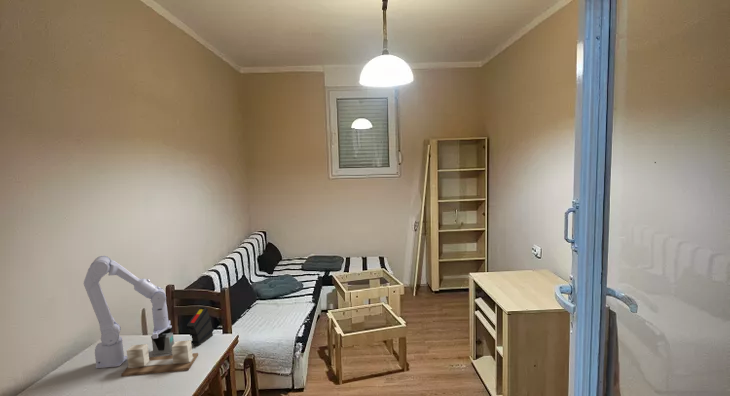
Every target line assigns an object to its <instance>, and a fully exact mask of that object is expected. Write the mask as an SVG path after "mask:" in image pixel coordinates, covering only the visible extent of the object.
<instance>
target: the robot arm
mask: <svg viewBox="0 0 730 396" xmlns="http://www.w3.org/2000/svg"><path fill="white" fill-rule="evenodd" d="M105 275H106V276H107V275H108V276H118V277H119V278H121V279H123V280H124V281H126V282H128V283H129V284H131V285H133V289H134V291H136V292H137V293H138V294H140V295H141V296H143V297H145V298H146V299H149V300H150V303H151V305H152V307H151V310H152V311H151V312H152V321H153V330H152V334H151V336H150V338H151V341H152V340H153V341H154V342H155V344H156V346H157V348H158V351H162V350H164V343H165V337H166V334H164V335H162V334H163V333H172V330H173V326H172V325H171V319H170V320H169V313H168V306H167V305H168V304H167V296H166V295H167V294H166V291H165V290H164V289H163V288H162V287H160V286H159V285H156V284H154V283H152V282H151V279H149V278H147V279H146V278H145V277H143V278H139V277H138V276H136V275H135V273H134V274H133V273H132V271H130V270H128V269H127V268H126V267H124V266H123V265H121V264H120V263H119V262H117V261H116V260H114V259H111V258H110V257H108V256H106V255H100V256H98V257H96V258H95V259H94V260H93V261H92V263H91V264H90V265H89V268H88V269H87V272H86V275H85V277H84V280H83V286H84V289H85V291H86V293H87V296H88V298H89V299H88V300H89V302H90V304H91V306H92V309H93V310H94V311H93V312H94V313H95V316H96V320H97V322H98V325H99V332H100V334H101V336H100V342H99V343H97V344H96V345H95V349H94V359H95V369H104V368H113V367H120V366H121V365H122V364H123V363H125V361H126V360H128V358H127V355H125V354H124V353H125V352H124V343H123V337H122V336H120V332H121V325H120V324H119V323H117V321H116V320H115V318H114V316H113V315H112V312H111V310H110V308H109V304H108V302H107V299H106V297H105V295H104V292H103V290H102V287H101V285H100V281H101V279H102V278H103V277H104V276H105Z"/></svg>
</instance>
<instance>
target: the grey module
mask: <svg viewBox="0 0 730 396" xmlns="http://www.w3.org/2000/svg"><path fill="white" fill-rule="evenodd" d="M164 334H166V337H165V343H164V350H162V351H158V348H157V346H156V344H155V342H154V341H153V340H152V339H151V343H152V344H151V345H152V353H153V355H161V354H172V346H173V344H174V343H175V342H174V341H175V340H174V339H175V338H174V332H171V333H163V334H162V335H164Z"/></svg>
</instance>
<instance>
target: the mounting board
mask: <svg viewBox="0 0 730 396" xmlns="http://www.w3.org/2000/svg"><path fill="white" fill-rule="evenodd" d="M191 341H192V339H189V340H179V341H175V342H174V344H173V346H172V351H171V354H172V355H171V354H170V355H161V356H158V355H157V356H150V354H149V345H148V343H144V344H134V345H133V344H131V346H130V347H129V348H127V349H126V356H127V365H128V366H127V367H126V368H125V369H124V370H123V371H122V373H120V374H121V377H126V376H127V377H128V376H129V377H130V376H139V375H149V374H151V375H152V374H160V373H161V374H162V373H163V374H164V373H171V372H182V371H189V370H190V369H191V367H192V365H193V364H194V362H195V361H196V359H197V358H198V357H199V353H198V352H194V353H193V349H192V348H193V344H192V343H191Z"/></svg>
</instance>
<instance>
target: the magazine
mask: <svg viewBox="0 0 730 396" xmlns="http://www.w3.org/2000/svg"><path fill="white" fill-rule="evenodd" d="M208 311H209V309H208V308H206V307H205V306H199V307H198V308H197V310H196V312H195V313H194V314H193V316H192V317H191V319H190V320H189V321H188V323H187V324H186V329H187V330H188V331H189V336H190V337H191V344H192V347H199V346H201V345H202V344H204V343H205V342H206V341H208V340H209V339H210V338H212V337H213V336H214V335H213V334H214V333H213V332H214V331H215V330H214V327H213V326H212V321H211V320H212V317H211V316H210V314H209V312H208Z"/></svg>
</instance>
